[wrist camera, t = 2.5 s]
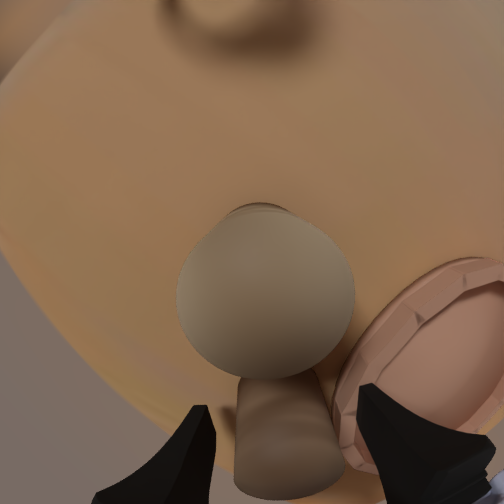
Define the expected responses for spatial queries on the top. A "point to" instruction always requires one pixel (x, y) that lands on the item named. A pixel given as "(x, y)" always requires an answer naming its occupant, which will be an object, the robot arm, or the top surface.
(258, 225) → the beige tall rounded piece
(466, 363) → the dish
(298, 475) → the brown short cylinder
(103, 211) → the top surface
